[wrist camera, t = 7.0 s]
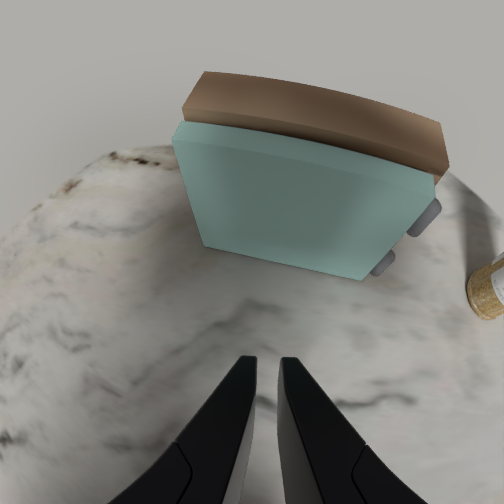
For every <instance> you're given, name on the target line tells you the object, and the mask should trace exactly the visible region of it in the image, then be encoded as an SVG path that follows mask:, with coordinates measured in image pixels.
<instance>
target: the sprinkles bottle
mask: <svg viewBox="0 0 504 504" xmlns="http://www.w3.org/2000/svg"><path fill="white" fill-rule="evenodd" d="M467 293H468V298H469V302H470V305H471V307H472V309H473V310H474V311H475V313H476V314H477V315H478V316H479V317H481V318H482V319H485V320H491V319H495V318H496V317H498V316H499V315H501V314H503V313H504V252H503V253H502V254H500V255H499V256H497V257H496V258H495V259H494V260H493V261H492V262H490V263H489V264H487V265H486V266H484V267H483V268H480V269H478V270H476V271H475V272H474V273H473V274H472V275H471V276H470V279H469V281H468V284H467Z"/></svg>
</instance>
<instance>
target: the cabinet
mask: <svg viewBox="0 0 504 504" xmlns="http://www.w3.org/2000/svg"><path fill="white" fill-rule="evenodd" d="M182 111H183V115H184V120H185V121H188V122H197V123H206V124H214V125H222V126H229V127H236V128H242V129H249V130H255V131H261V132H266V133H272V134H278V135H283V136H288V137H293V138H298V139H303V140H308V141H312V142H317V143H321V144H326V145H330V146H334V147H338V148H342V149H346V150H350V151H354V152H358V153H362V154H366V155H369V156H373V157H377V158H380V159H384V160H387V161H390V162H394V163H397V164H400V165H404V166H407V167H410V168H413V169H416V170H419V171H423V172H426V173H429V174H431V175H433V178H434V186H435V185H436V184H437V183H438V181H439V180H440V179H441V177H442V176H443V175H444V173H445V172H446V171H447V169H448V168H449V161H448V156H447V151H446V147H445V142H444V138H443V133H442V129H441V125H440V123H439V122H437V121H434V120H431V119H429V118H426V117H423V116H420V115H417V114H415V113H412V112H409V111H406V110H403V109H399V108H397V107H393V106H390V105H387V104H384V103H380V102H377V101H373V100H370V99H366V98H362V97H359V96H355V95H351V94H347V93H342V92H339V91H334V90H330V89H326V88H321V87H316V86H311V85H306V84H301V83H295V82H289V81H284V80H277V79H271V78H264V77H256V76H248V75H240V74H230V73H219V72H204V73H203V74H202V76H201V78H200V79H199V81H198V82H197V84H196V85H195V87H194V89H193V90H192V92H191V94H190V95H189V97H188V98H187V100H186V102H185V103H184V105H183V107H182Z"/></svg>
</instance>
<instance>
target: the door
mask: <svg viewBox="0 0 504 504" xmlns="http://www.w3.org/2000/svg"><path fill="white" fill-rule="evenodd" d="M172 143H173V147H174V150H175V154H176V157H177V161H178V164H179V167H180V171H181V174H182V178H183V181H184V184H185V188H186V191H187V194H188V198H189V201H190V204H191V207H192V211H193V214H194V217H195V220H196V223H197V227H198V230H199V233H200V236H201V239H202V242H203V245H204V246H206V247H210V248H215V249H219V250H224V251H228V252H233V253H237V254H241V255H246V256H250V257H255V258H259V259H264V260H268V261H273V262H277V263H282V264H287V265H291V266H296V267H300V268H305V269H309V270H314V271H318V272H323V273H327V274H332V275H336V276H341V277H346V278H350V279H355V280H359V281H361V280H362V279H363V278H364V277H365V276H366V275H367V274H368V273H370V274H371V275H373V276H379V275H380V274H381V273H382V272H383V271H384V270H385V269H386V268H387V267H388V266H389V265H390V264H391V263H392V262H393V261H394V260H395V254H394V252H393V251H392V250H391V248H392V247H393V246H394V245H395V244H396V243H397V242H398V240H399V239H400V238H401V237H402V236H403V235H404V234H405V233H406V232H407V234H408V235H410V236H412V237H417V236H419V235H420V234H421V233H422V232H423V230H424V229H425V228H426V227H427V226H428V225H429V224H430V223H431V222H432V221H433V220H434V219H435V218H436V216H437V215H438V214H439V213H440V212H441V209H442V207H441V204H440V202H439V201H438V200H437V199H436V198H435V197H436V196H435V186H434V178H433V175H431V174H429V173H426V172H423V171H419V170H416V169H413V168H410V167H407V166H404V165H400V164H397V163H394V162H390V161H387V160H384V159H380V158H377V157H373V156H369V155H366V154H362V153H358V152H354V151H350V150H346V149H342V148H338V147H334V146H330V145H326V144H321V143H317V142H312V141H308V140H303V139H298V138H293V137H288V136H283V135H278V134H272V133H266V132H261V131H255V130H249V129H242V128H236V127H229V126H222V125H214V124H206V123H197V122H188V121H181V123H180V125H179V126H178V128H177V130H176V132H175V134H174V136H173V138H172Z"/></svg>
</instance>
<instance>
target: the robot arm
mask: <svg viewBox="0 0 504 504" xmlns="http://www.w3.org/2000/svg"><path fill="white" fill-rule="evenodd" d="M256 384H257V357H256V356H246V355H242V356H241V357H240V358H239V359H238V360H237V362H236V363H235V364H234V365H233V367H232V368H231V369H230V371H229V372H228V373H227V375H226V376H225V377H224V379H223V380H222V381H221V382H220V384H219V385H218V386H217V388H216V389H215V390H214V391H213V393H212V394H211V395H210V396H209V398H208V399H207V400H206V402H205V403H204V404H203V405H202V407H201V408H200V409H199V410H198V412H197V413H196V414H195V415H194V417H193V418H192V419H191V420H190V421H189V423H188V424H187V425H186V426H185V428H184V429H183V430H182V431H181V433H180V434H179V435H178V436H177V437H176V439H175V441H173V442H172V443H171V444H170V446H169V447H168V448H167V449H166V450H165V452H164V453H163V454H162V455H161V456H160V457H159V458H158V459H157V460H156V461H155V462H154V464H153V465H152V466H151V467H150V468H149V469H148V470H146V471H145V472H144V473H143V474H142V475H141V476H140V477H139V478H138V479H137V480H136V481H134V482H133V483H132V484H131V485H130V486H128V487H127V488H126V489H125V490H124V491H122V492H121V493H120V494H119V495H117V496H116V497H115V498H114V499H113V500H111V501H110V502H109V503H108V504H239V502H240V497H241V493H242V488H243V483H244V478H245V474H246V469H247V464H248V459H249V454H250V449H251V444H252V438H253V430H254V415H255V400H256ZM277 436H278V446H279V454H280V462H281V469H282V477H283V485H284V493H285V501H286V504H428V503H426V502H425V501H424V500H423V499H422V498H420V497H419V496H418V495H417V494H416V493H415V492H414V491H412V490H411V489H410V488H409V487H408V486H407V485H406V484H404V483H403V482H402V481H401V480H400V479H399V478H398V477H397V476H396V475H395V474H394V473H393V472H392V471H391V470H390V469H389V468H388V467H387V466H386V465H385V464H384V463H383V462H382V461H381V460H380V458H379V457H378V456H377V455H376V454H375V453H374V452H373V450H372V449H371V448H370V447H369V445H366V442H365V441H364V440H363V438H362V437H361V436H360V435H359V434H358V432H357V431H356V430H355V429H354V428H353V426H352V425H351V424H350V423H349V421H348V420H347V419H346V418H345V417H344V415H343V414H342V413H341V412H340V410H339V409H338V408H337V407H336V406H335V404H334V403H333V402H332V401H331V399H330V398H329V397H328V396H327V394H326V393H325V392H324V391H323V389H322V388H321V387H320V386H319V384H318V383H317V382H316V381H315V379H314V378H313V377H312V376H311V374H310V373H309V372H308V371H307V369H306V368H305V367H304V366H303V364H302V363H301V362H300V361H299V359H298V358H296V357H282V358H281V360H280V368H279V376H278V405H277Z"/></svg>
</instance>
